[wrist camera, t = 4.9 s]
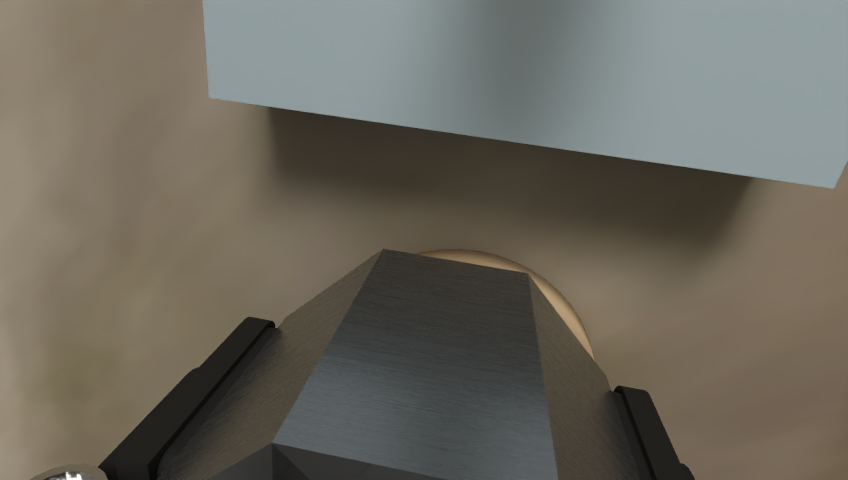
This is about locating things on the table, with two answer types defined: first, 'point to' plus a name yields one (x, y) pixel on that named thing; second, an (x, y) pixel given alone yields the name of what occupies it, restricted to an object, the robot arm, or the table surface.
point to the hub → (560, 74)
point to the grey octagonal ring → (416, 387)
